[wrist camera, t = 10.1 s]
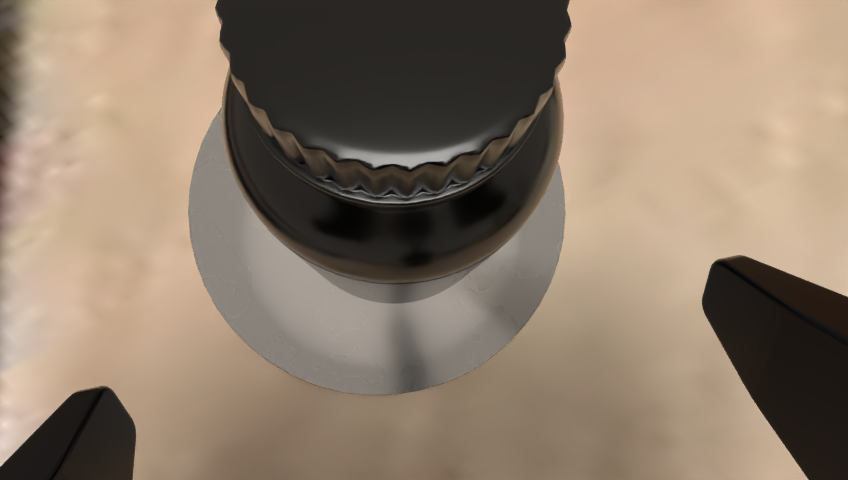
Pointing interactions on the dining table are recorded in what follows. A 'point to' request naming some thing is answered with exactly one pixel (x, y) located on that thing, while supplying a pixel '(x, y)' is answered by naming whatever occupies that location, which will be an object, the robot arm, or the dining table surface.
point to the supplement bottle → (393, 131)
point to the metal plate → (352, 316)
